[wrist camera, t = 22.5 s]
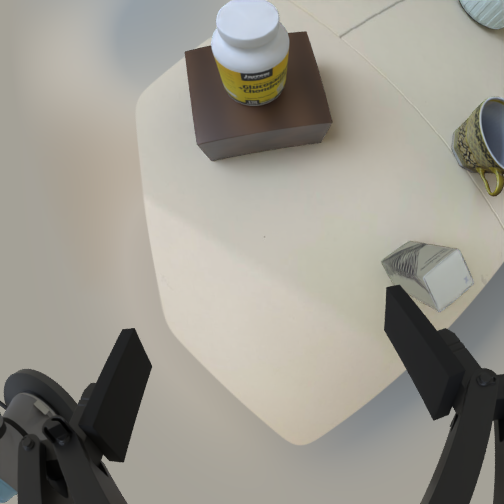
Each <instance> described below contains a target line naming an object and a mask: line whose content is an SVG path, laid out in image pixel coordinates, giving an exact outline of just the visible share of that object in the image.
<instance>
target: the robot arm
mask: <svg viewBox="0 0 504 504" xmlns="http://www.w3.org/2000/svg"><path fill="white" fill-rule="evenodd" d="M384 331H385V332H386V334H387V336H388V337H389V339H390V341H391V343H392V344H393V346H394V348H395V350H396V351H397V353H398V355H399V357H400V358H401V360H402V362H403V364H404V366H405V367H406V369H407V371H408V373H409V375H410V377H411V378H412V380H413V382H414V384H415V386H416V388H417V389H418V391H419V393H420V395H421V397H422V399H423V401H424V403H425V405H426V407H427V409H428V411H429V413H430V415H431V417H432V418H433V420H436V419H439V418H442V417H444V416H447V415H449V413H450V410H451V408H452V406H453V408H454V410H455V412H456V414H455V416H454V418H453V420H452V422H451V425H450V427H451V429H450V432H449V435H448V437H447V440H446V443H445V446H444V449H443V452H442V454H441V457H440V459H439V462H438V465H437V467H436V470H435V472H434V474H433V477H432V479H431V481H430V484H429V486H428V488H427V490H426V493H425V495H424V497H423V499H422V501H421V503H420V504H469V503H470V500H471V498H472V495H473V492H474V489H475V486H476V483H477V480H478V477H479V473H480V470H481V467H482V463H483V460H484V455H485V452H486V448H487V444H488V440H489V436H490V431H491V426H492V421H493V420H494V431H495V483H494V500H493V504H504V374H502V375H496V373H494V372H493V371H492V370H489V369H486V368H481V367H480V366H479V364H478V363H477V362H476V360H475V359H474V358H473V356H472V355H471V354H470V353H469V351H468V350H467V349H466V348H465V346H464V345H463V344H462V343H461V342H460V340H459V338H458V337H457V336H456V335H455V333H453V332H451V331H450V330H448V329H446V328H445V329H442V330H439V331H437V330H436V329H435V328H434V326H433V325H432V324H431V323H430V321H429V320H428V319H427V317H426V316H425V315H424V314H423V312H422V311H421V310H420V309H419V307H418V306H417V305H416V304H415V302H414V301H413V300H412V299H411V298H410V296H409V295H408V294H407V293H406V291H405V290H404V289H403V288H402V287H401V285H400V284H399V285H395V286H390V287H386V309H385V325H384ZM151 368H152V365H151V363H150V361H149V359H148V356H147V354H146V353H145V350H144V348H143V346H142V343H141V342H140V339H139V337H138V335H137V332H136V330H135V328H131V329H123V330H122V331H121V333H120V335H119V337H118V339H117V341H116V343H115V345H114V347H113V349H112V351H111V353H110V356H109V357H108V359H107V361H106V363H105V365H104V368H103V370H102V372H101V374H100V376H99V378H98V380H97V382H96V383H91V384H90V385H89V386H88V387H87V388H86V389H85V390H84V392H83V394H82V396H81V400H79V403H78V406H77V407H76V409H75V411H74V413H73V415H72V418H71V420H70V422H69V424H68V422H67V421H66V420H65V419H64V417H62V416H61V415H60V414H59V413H58V411H57V410H56V409H55V408H54V407H53V406H52V405H51V404H50V403H49V402H48V401H47V400H45V399H44V398H43V397H41V396H40V395H38V394H36V393H33V392H30V391H23V392H20V393H19V394H17V395H16V396H15V397H14V398H13V399H12V401H11V403H10V404H9V406H8V407H7V406H6V405H5V404H4V403H2V402H1V401H0V406H1V407H3V408H4V409H5V410H6V411H5V413H4V415H3V416H1V414H0V503H4V502H7V501H8V500H9V499H10V498H12V497H13V496H14V495H17V492H18V504H127V502H126V501H125V499H124V497H123V496H122V494H121V492H120V491H119V489H118V487H117V486H116V484H115V482H114V480H113V479H112V477H111V475H110V473H109V472H108V470H107V468H106V466H105V464H104V463H103V462H102V461H101V459H102V456H103V455H104V456H105V457H106V458H107V459H108V460H109V461H115V462H124V460H125V456H126V452H127V448H128V445H129V441H130V438H131V434H132V430H133V427H134V423H135V420H136V417H137V413H138V410H139V407H140V403H141V400H142V397H143V394H144V390H145V387H146V384H147V381H148V378H149V375H150V371H151Z"/></svg>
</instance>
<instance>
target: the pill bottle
mask: <svg viewBox="0 0 504 504" xmlns="http://www.w3.org/2000/svg"><path fill="white" fill-rule="evenodd" d="M216 24H217V28H216V30H215V31H214V34H213V36H212V40H211V47H212V52H213V55H214V58H215V61H216V64H217V67H218V70H219V73H220V76H221V79H222V82H223V85H224V88H225V90H226V92H227V93H228V95H229V96H230V97H231V98H232V99H234V100H235V101H237V102H239V103H241V104H244V105H250V106H259V105H264V104H267V103H269V102H271V101H273V100H274V99H276V98H277V97H278V96H279V95H280V94H281V92H282V90H283V89H284V86H285V82H286V73H287V64H288V54H289V36H288V33H287V30H286V29H285V27H284V26H283V25H282V24H281V23H280V22H279V13H278V11H277V9H276V8H275V6H274V5H272V4H271V3H270V2H268V1H266V0H232V1H230V2H229V3H227V4H225V5H224V6H223V7H222V8H221V9H220V10H219V12H218V15H217V18H216Z"/></svg>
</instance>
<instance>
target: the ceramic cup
mask: <svg viewBox="0 0 504 504" xmlns="http://www.w3.org/2000/svg"><path fill="white" fill-rule="evenodd" d="M452 151H453V153H454V155H455V157H456V159H457V161H458V163H459V165H460V166H461V167H463V168H464V169H466V170H468V171H470V172H473V173H475V172H477V173H480V175H481V178H482V180H483V181H484V183H485V186H486V190H487V192H488V194H489V195H491V196H497V195H498V194H499V193H500V192H501V191H502V189H503V186H504V176H503V174H504V99H503V98H501V97H495V96H494V97H489V98H487V99H486V100H485V101H484V102H482V103H481V104H480V105H479V106H478V107H477V108H476V109H475V110H474V111H473V112H472V114H471V115H470V116H469V118H468V119H467V120H466V121H465V122H464V123H463V124H462V125H461V126H460V127H459V128H458V129H457V130H456V131H455V132H454V134H453V142H452ZM485 173H494V174H496V178H497V186H496V189H495V191H494V192H493V193H492V192H491V190H490V187H489V184H488V182H487V180H486V179H485V175H484V174H485Z"/></svg>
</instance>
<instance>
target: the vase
mask: <svg viewBox="0 0 504 504" xmlns="http://www.w3.org/2000/svg"><path fill="white" fill-rule="evenodd" d="M459 1H460V3H461V4H462V6H463V8H464V9H465V11H466V12H467V13H468V14H469V15H470V16H471V17H472V18H473V19H474V20H475V21H477V22H478V23H480V24H482V25H484V26H487V27H488V28H492V29H502V28H503V27H504V0H459Z"/></svg>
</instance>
